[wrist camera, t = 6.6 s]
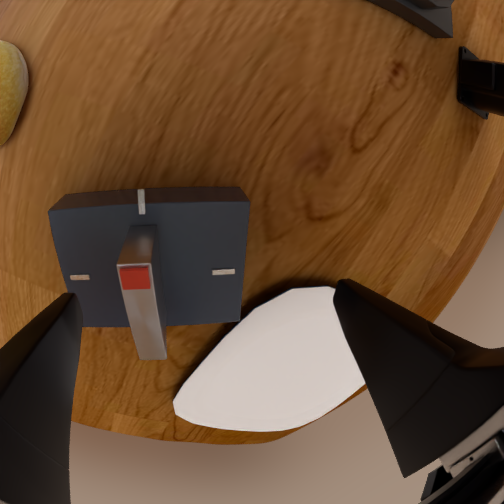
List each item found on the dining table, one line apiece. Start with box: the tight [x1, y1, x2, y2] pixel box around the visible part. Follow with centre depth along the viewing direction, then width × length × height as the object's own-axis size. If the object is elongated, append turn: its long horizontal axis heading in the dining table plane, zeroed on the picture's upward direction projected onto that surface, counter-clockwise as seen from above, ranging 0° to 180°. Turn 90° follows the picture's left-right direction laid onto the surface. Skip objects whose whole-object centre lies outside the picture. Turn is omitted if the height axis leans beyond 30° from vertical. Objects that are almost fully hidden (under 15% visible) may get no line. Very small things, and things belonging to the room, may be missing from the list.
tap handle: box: [117, 225, 167, 360], centre depth 14 cm, size 6×2×4 cm, turn 175°
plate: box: [173, 285, 365, 432], centre depth 30 cm, size 25×25×2 cm
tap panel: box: [48, 187, 250, 327], centre depth 17 cm, size 12×11×3 cm
